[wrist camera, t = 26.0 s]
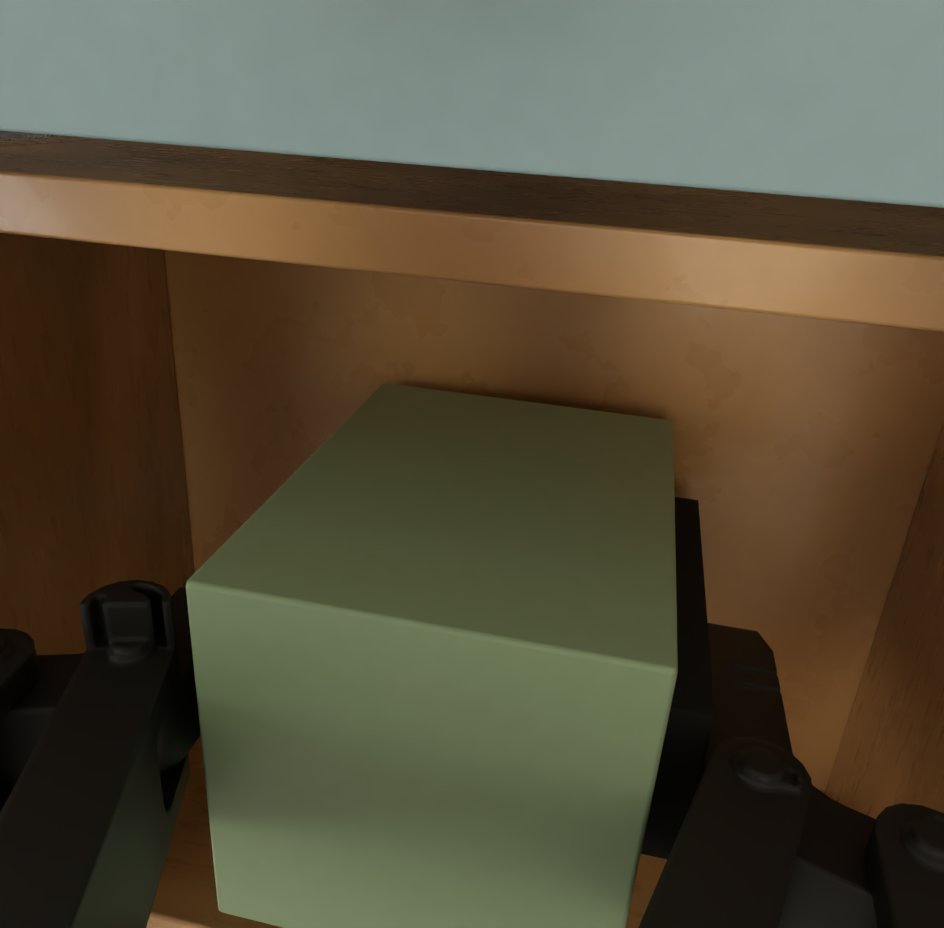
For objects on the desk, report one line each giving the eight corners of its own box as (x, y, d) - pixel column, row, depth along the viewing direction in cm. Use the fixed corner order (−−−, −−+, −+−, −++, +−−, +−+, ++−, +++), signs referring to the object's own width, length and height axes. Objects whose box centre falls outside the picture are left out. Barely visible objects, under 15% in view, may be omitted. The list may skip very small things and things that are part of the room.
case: (195, 669, 24) (-40, 957, 16) (140, 130, 18) (-285, 159, 10) (844, 796, 21) (955, 1228, 13) (1043, 202, 15) (1485, 326, 7)
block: (379, 618, 20) (216, 913, 13) (382, 381, 17) (182, 581, 10) (630, 664, 19) (608, 1012, 12) (674, 419, 16) (678, 670, 9)
